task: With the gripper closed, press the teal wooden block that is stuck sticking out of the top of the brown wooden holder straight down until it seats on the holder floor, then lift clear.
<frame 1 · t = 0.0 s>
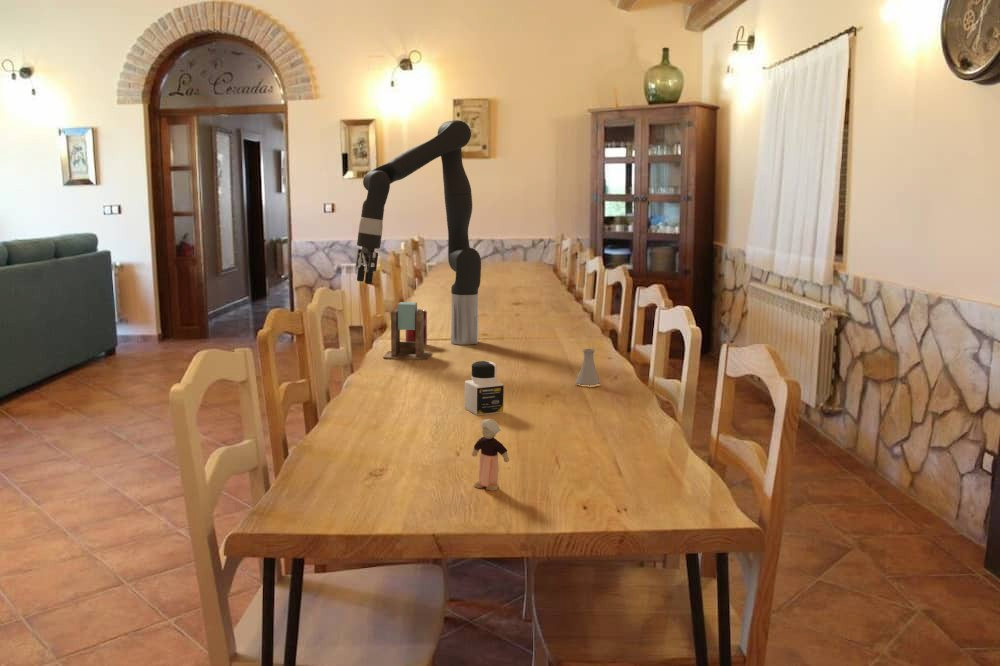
hand: (364, 282, 274), 22 cm above the table, tool pointing down, fingers open, 8 cm apart
grandmother figurine: (489, 488, 151), on the table
brown wooden holder: (407, 356, 268), on the table
medicine bottle: (483, 411, 203), on the table
soda can: (416, 345, 288), on the table
block: (407, 315, 266), point 13 cm above the table, slide at 8.3 cm
flask: (587, 386, 232), on the table
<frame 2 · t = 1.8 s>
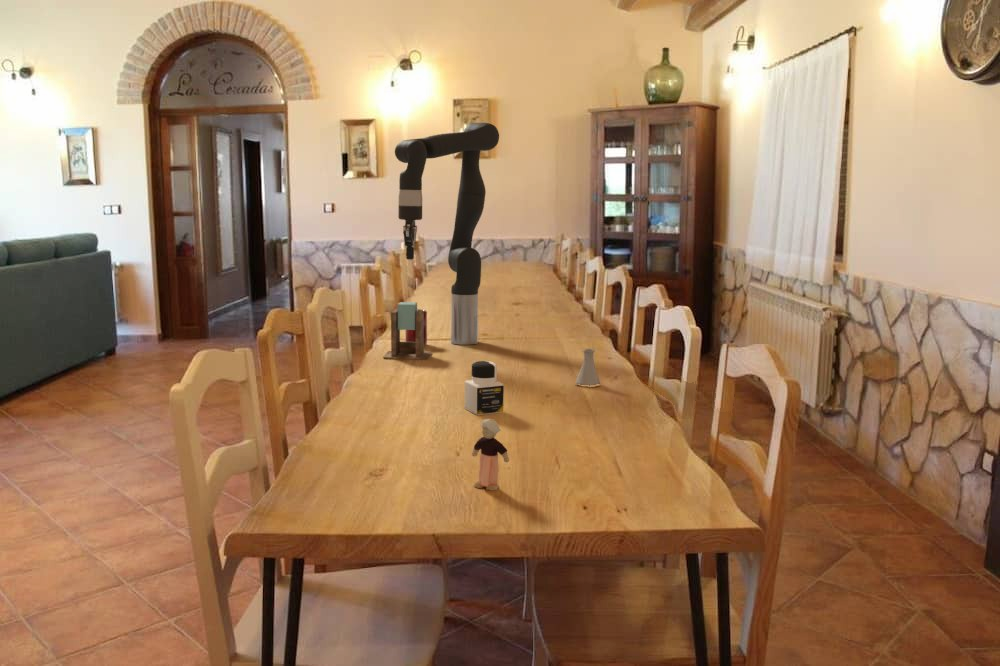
hand: (410, 259, 270), 30 cm above the table, tool pointing down, fingers closed
nothing on the table moved.
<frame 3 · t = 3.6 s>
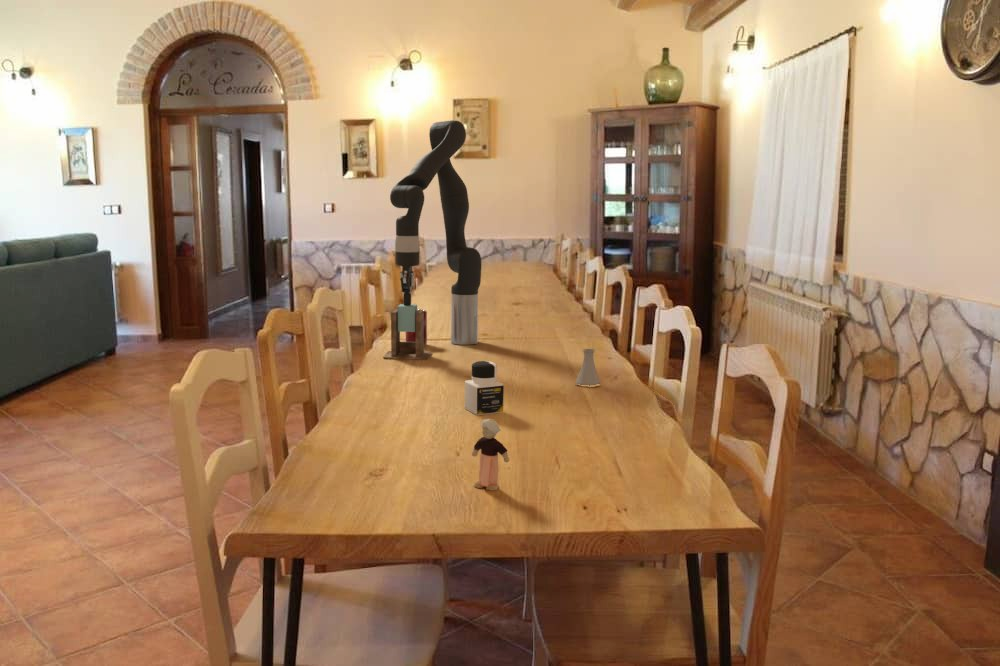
hand: (407, 305, 266), 16 cm above the table, tool pointing down, fingers closed
block: (407, 317, 266), point 12 cm above the table, slide at 7.7 cm, touching gripper
everything else where it was.
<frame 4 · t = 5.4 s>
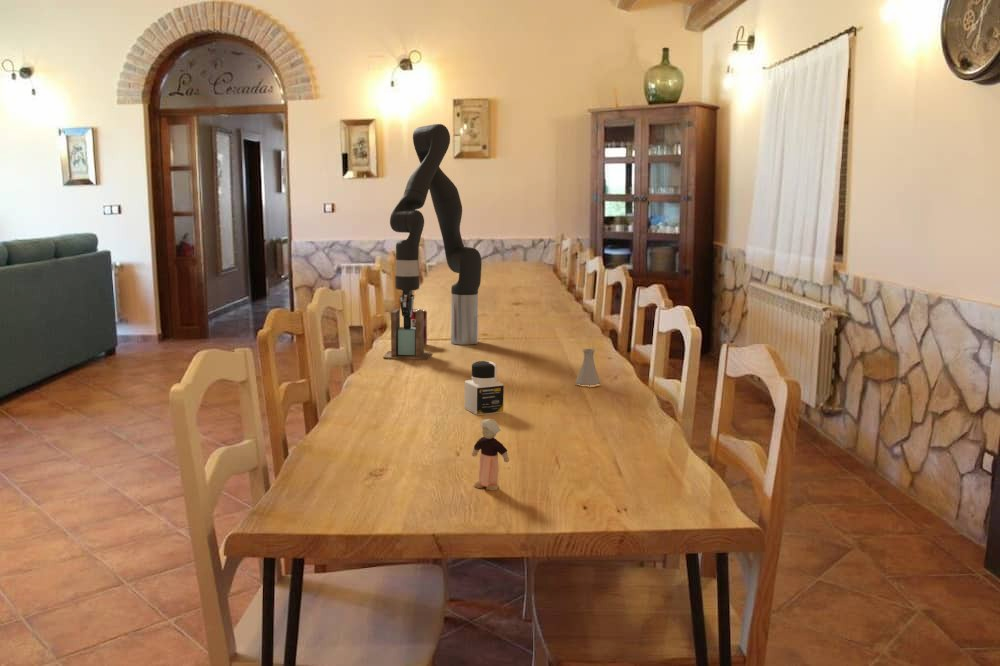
hand: (407, 328, 267), 9 cm above the table, tool pointing down, fingers closed
block: (407, 341, 268), point 5 cm above the table, slide at 0.2 cm, touching gripper
everything else where it was.
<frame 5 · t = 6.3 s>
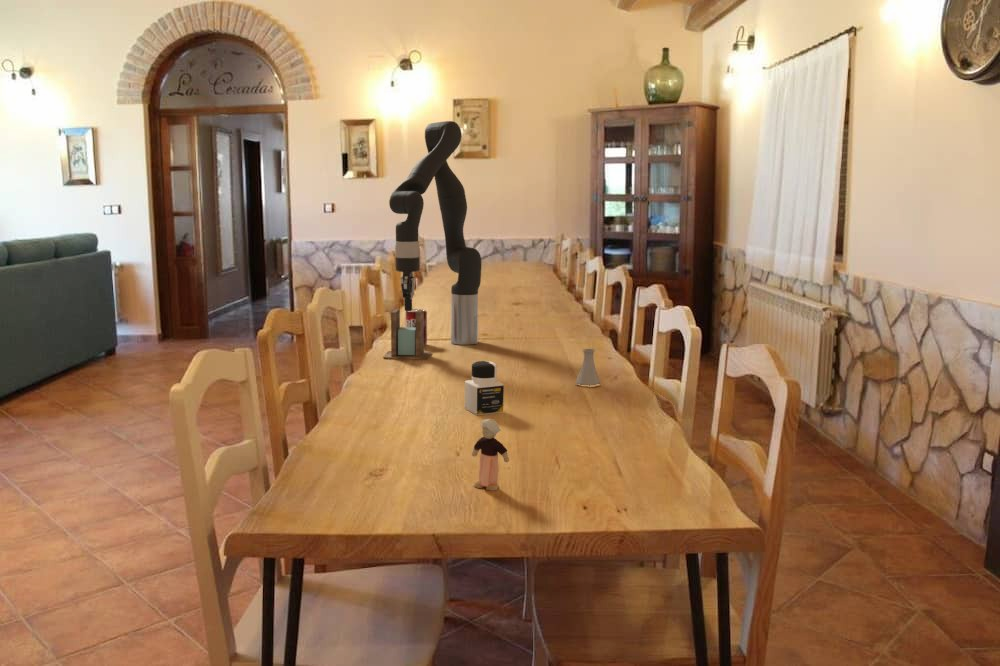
hand: (408, 310, 266), 15 cm above the table, tool pointing down, fingers closed
block: (407, 341, 268), point 5 cm above the table, slide at 0.2 cm
everything else where it was.
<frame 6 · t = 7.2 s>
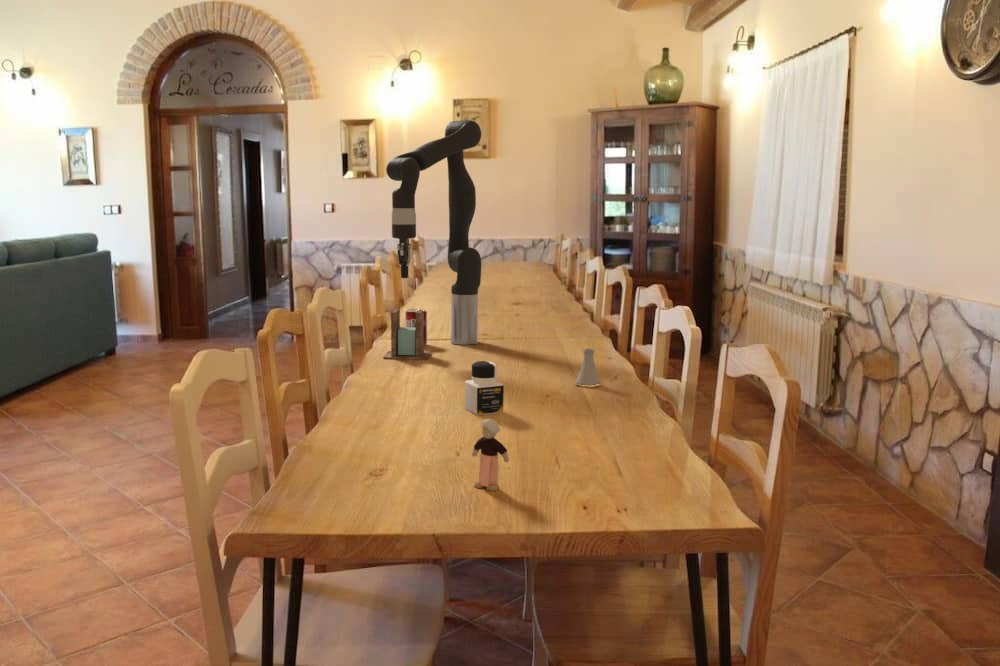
hand: (404, 277, 267), 25 cm above the table, tool pointing down, fingers closed
nothing on the table moved.
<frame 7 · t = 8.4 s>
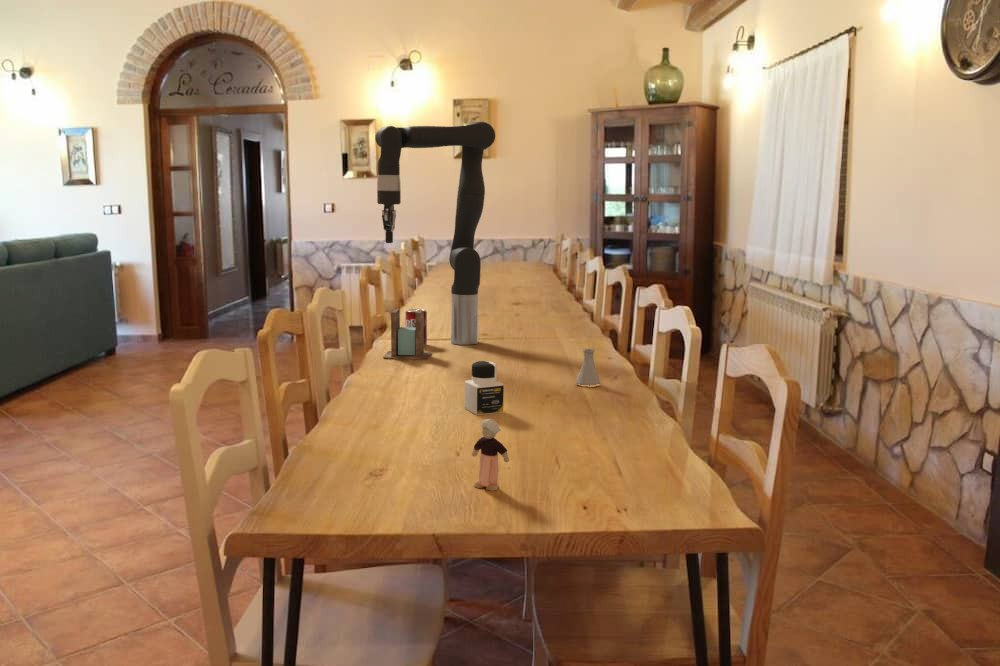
hand: (389, 242, 277), 35 cm above the table, tool pointing down, fingers closed
nothing on the table moved.
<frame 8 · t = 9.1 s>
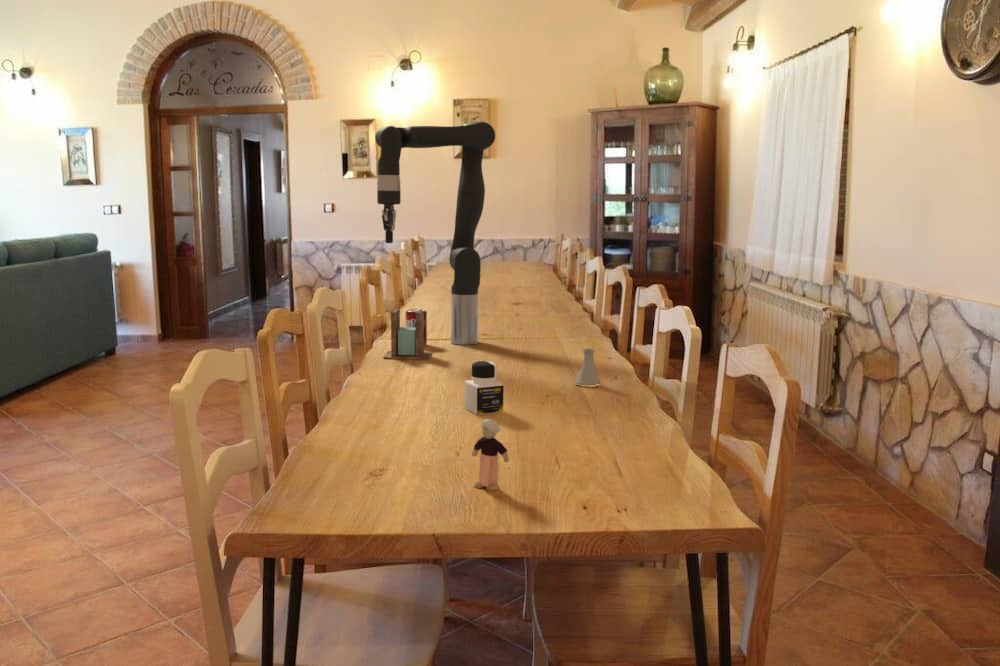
hand: (389, 242, 277), 35 cm above the table, tool pointing down, fingers closed
nothing on the table moved.
at the end: block slide at 0.2 cm; block point 4.9 cm above the table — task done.
